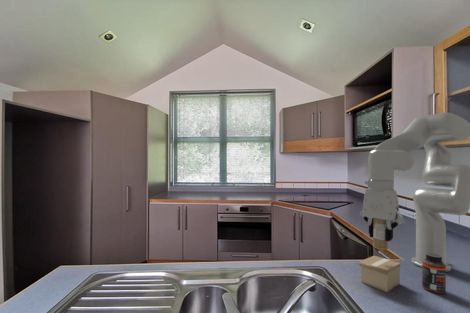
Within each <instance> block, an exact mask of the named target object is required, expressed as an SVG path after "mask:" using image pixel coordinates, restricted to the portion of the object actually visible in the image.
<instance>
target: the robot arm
mask: <svg viewBox="0 0 470 313" xmlns="http://www.w3.org/2000/svg"><path fill="white" fill-rule="evenodd" d="M469 138H470V122H469V121H468V120H466V119H465V118H463V117H461V116H460V115H457V114H456V113H452V112H439V113H433V114H425V115H421V116H417V117H416V118H414V119H413V120H412V121H411V123H409V124H408V126H407V127H406V128H405V129H404V130H403V131H402V132H401V133H399V134H396V135H395V136H392V137H391V138H389V139H386V140H384V141H382V142H381V143H379V144H377V146H376V147H375V148H374V149H372V150H371V151H369V153H368V158H367V164H368V179H367V180H365V181H364V185H365V186H367V187H368V188H365V190H364V195H363V196H364V197H363V203H362V209H361V210H360V212H359V213H358V214H359V216H360V217H362V218H363V220H364V221H365V222H366V224H367V225H368V234H369V238H373V221H374V218H376V219H381V220H386V224H387V229H386V230H385V240H386V241H387V242H390V241H392V240H393V239H394V229H395V228H396V227H398V226H400V225H401V224H404V223H405V222H406V219H405V218H404V217H403V215H401V213H400V208H399V207H400V206H399V200H398V199H399V198H398V194H397V190H395V172H407V171H409V170H411V169H412V168H413V167H414V165H415V158H414V156H413V155H412V154H411V152H414V151H417V150H419V149H422V147H423V148H424V151H425V160H424V165H423V170H422V174H421V177H422V178H421V179H422V182H423V183H424V184H425V185H427V186H430V187H419V188H417V189H416V190H415V191H414V192H413V193H412V194H413V195H412V201H413V205H414V209H415V210H414V212H415V256H413V257H411V263H412V264H414V265H416V267H417V266H418V267H420V268H422V261H423V260H424V259H426V253H434V254H437V255H440V256H441V257H442V262H443V263H444V264H445V266H446V273H447V272H451V271H452V267H451V265H450V264H449V263H447V233H446V232H447V228H446V227H447V226H446V222H445V220H444V218H443V216H441V215H440V214H445V215H447V214H448V215H453V216H465V215H467V214H468V213H469V210H470V166H469V165H467V164H462V163H461V164H460V163H452V158H453V154H452V152H451V151H450V149H448V147H447V146H446V145H444V144H443V143H447V142H451V143H452V142H462V141H463V142H464V141H467V140H468V139H469ZM436 187H440V188H436ZM445 188H450V189H445ZM451 188H452V189H451ZM394 220H396V221H394Z"/></svg>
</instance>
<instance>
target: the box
mask: <svg viewBox="0 0 470 313" xmlns="http://www.w3.org/2000/svg"><path fill="white" fill-rule="evenodd" d="M360 267H361V280H360V282H361V283H363V284H365V285H367V286H369V287H372V288H374V289H377V290H379V291H382V292H385V293H389V292H390V291H392V290H393V289H395V288H396V287H397V286H399V285H400V273H401V272H400V267H401V266H400V267H398V268H396V269H395V270H393V271H391V272H389V273H387V275H386V274H383V273H380V272H377V271H374V270H371V269H369V268H366V267H363V266H360Z"/></svg>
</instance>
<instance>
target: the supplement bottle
mask: <svg viewBox="0 0 470 313" xmlns="http://www.w3.org/2000/svg"><path fill="white" fill-rule="evenodd" d="M421 274H422V275H421V277H422V278H421V280H422V281H421V286H422V288H423V289H425V290H427V291H428V292H430V293H433V294H440V295H443V294H445V293H446V290H447V288H446V285H447V284H446V282H447V281H446V280H447V279H446V278H447V276H446V275H447V272H446V266H445V264H444V263H443V262H442V257H441V256H440V255H437V254H434V253H426V259H424V260H423V261H422V267H421Z"/></svg>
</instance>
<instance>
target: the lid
mask: <svg viewBox="0 0 470 313" xmlns="http://www.w3.org/2000/svg"><path fill="white" fill-rule="evenodd" d="M358 265H359V266H360V267H361V266H363V267H366V268H369V269H371V270H374V271H377V272H380V273H383V274H386V275H387V273H389V272H391V271H393V270H395V269H396V268H398V267H401V263H400V262H398V261H395V260H391V259H388V258H384V257H380V256H377V255H372V256H369V257H367V258H365V259H363V260H359V261H358Z"/></svg>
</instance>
